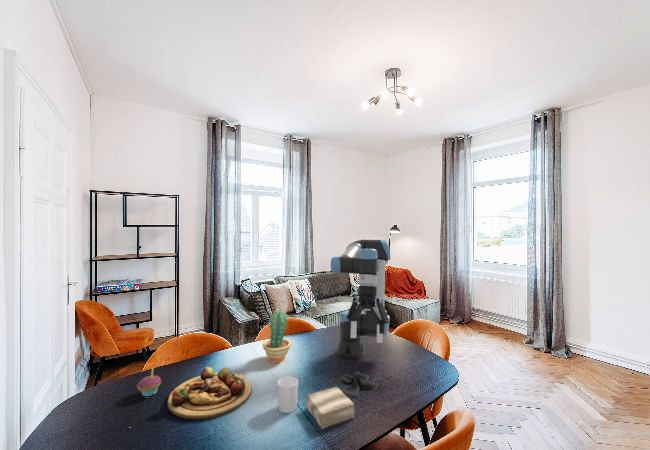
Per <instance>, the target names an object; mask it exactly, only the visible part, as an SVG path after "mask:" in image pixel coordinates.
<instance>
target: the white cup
mask: <svg viewBox="0 0 650 450" xmlns="http://www.w3.org/2000/svg"><path fill="white" fill-rule="evenodd" d="M298 392H299V379H298V378H297V377H295V376H291V375H290V376H283V377H280V378H279V379H278V380H277V398H278V399H277V400H278V401H277V402H278V410H279V412H281V413H283V412H284V413H283V414H290V413H293V412H294V411H296V410H297V407H298ZM292 411H293V412H292ZM289 412H290V413H289Z"/></svg>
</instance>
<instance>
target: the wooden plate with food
mask: <svg viewBox="0 0 650 450" xmlns="http://www.w3.org/2000/svg"><path fill="white" fill-rule="evenodd" d="M252 393H253V386H252V383H251V381H250V380H249V379H248V378H247V377H246V376H244V375H242V374H240V373H236V372H232V370H231V369H230V368H228V367H226V366H224V367H223V368H221V369H219V371H218V372H215V371H214V369H213V368H212V367H209V366H205V367H204V368H203V369H202V371H201V372H200V375H198V376H195V377H192V378H190V379H188V380H186V381H184V382H182V383H181V384H179V385H178V386H177V387H175V388H174V389H173V390H172V391H171V392H170V394H169V396H168V398H167V408H168V410H169V411H170V413H171V414H172V413H173V414H172V415H173V416H175V415H176V416H175V417H177V416H178V418H180V417H181V418H180V419H183V418H185V419H184V420H187V419H197V420H196V421H199V420H198V419H206V420H210V419H209V418H212V419H215V418H214V417H216V418H219V417H218V416H220V417H223V416H225V415H227V413H228V414H230V413H233V412H234V411H237V409H239V408H240V407H242V406H243V405H244V404H246V403H247V401H248V400H249V399H250V396H251V395H252ZM241 405H242V406H241ZM229 412H230V413H229ZM222 415H223V416H222Z"/></svg>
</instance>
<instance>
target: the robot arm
mask: <svg viewBox="0 0 650 450" xmlns="http://www.w3.org/2000/svg"><path fill="white" fill-rule="evenodd" d="M389 261H391V252H390V246H389V241H388V240H386V239H358V240H355V241H353V242H350V243H349V244H348V245H347V246H346V247H345V251H344V252H343V253H342V254H341V255H340V256H333V257H332V258H331V259H330V271H331V272H332V273H336V274H353V275H354V274H355V275H358V285H359V286H358V290H357V292H358V296H357V297H356V296H354V297H353V298H352V303H351V304H350V308H349V309H347V310H344V311H342V312H341V313H340V315H339V341H338V343H337V347H336V355H337V356H338V357H339V358H342V359H345V360H358V359H362V358H363V357H364V356H365V347H364V344H363V342H362V337H365V338H366V337H368V338H376V343H378V344H382V343H383V342H384V341H383V339H386V338H387V336H388V333H389V328H390V327H389V326H390V315H389V314H388V311H387V310H386V309H385V302H386V301H385V292H386V290H385V288H386V286H385V284H386V265H388V263H389ZM363 310H365V313H362V311H363Z"/></svg>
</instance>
